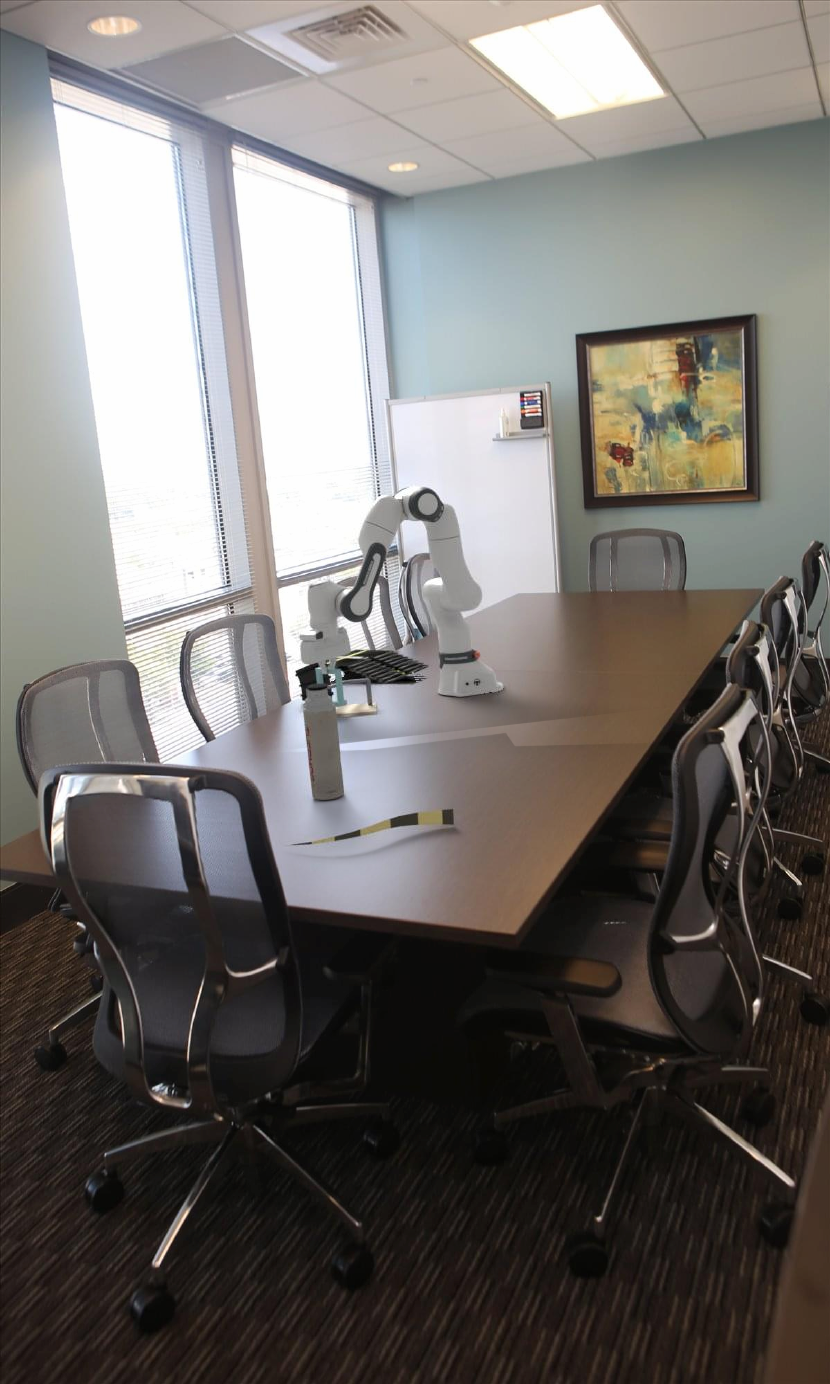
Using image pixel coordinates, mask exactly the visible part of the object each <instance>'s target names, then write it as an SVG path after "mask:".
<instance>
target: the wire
mask: <svg viewBox="0 0 830 1384" xmlns="http://www.w3.org/2000/svg"><path fill="white" fill-rule="evenodd" d="M371 681H372V680H371V679H370V678H358V679H357V678H356V679H348V680H346V679H345V680H342V684H343V686H344V685H349V684H350V685H351V684H359V683H365V687H366V689H365V690H366V700H367V703H368V705H369V706H370V705H373V703H372V702H373V695H372V682H371ZM327 689H336V682H335V683H332V684H331V685H328V686H327ZM306 694H307V698H308V689H306Z"/></svg>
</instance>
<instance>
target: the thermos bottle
mask: <svg viewBox="0 0 830 1384" xmlns="http://www.w3.org/2000/svg"><path fill="white" fill-rule="evenodd" d="M307 689H308V698H307V699H305V701H304V705H305V707H303V709H302V712H303V722H304V731H305V740H306V741H305V742H306V750H307V755H308V756H307V758H308V768H309V769H308V770H309V779H310V787H311V796H312V798H313V799H316V800H323V801H324V800H334V799H337V798H340V797H342V796H343V795H345V786H344V777H343V776H344V775H343V767H342V761H341V760H342V759H341V747H340V737H339V727H338V718H337V715H336V706H335V705H333V704H332V703H333V701H332V699H333V696H332V697H331V696H329V695H328V691H327V684H313V685H309V686H308V687H307Z"/></svg>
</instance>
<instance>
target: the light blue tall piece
mask: <svg viewBox="0 0 830 1384" xmlns="http://www.w3.org/2000/svg"><path fill="white" fill-rule="evenodd" d="M315 669H316V679H317V684H323V674H322V669H321V668H315ZM328 669H329V670H328V671H329V673H327V674H329V675H334V677H335V678H334V679H335V683H336V687H335V689H336V698H332V701H333V703H332V704H333V705H335V706H336V707H341V706H344V705H348V701H347V699H345V698H344V697H345V696H344V685H343V684H342V681H343V675H342V671H341V669H331V668H328Z"/></svg>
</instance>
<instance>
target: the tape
mask: <svg viewBox="0 0 830 1384" xmlns="http://www.w3.org/2000/svg"><path fill="white" fill-rule="evenodd" d="M425 825H426V826H427V825H448V826H449V825H450V826H451V825H452V826H453V825H455V817H454V808H448V809H438V810H437V809H435V810H428V811H421V812H420V811H419V812H412V813H407V814H402V815H398V816H395V817H392V818H388V819H385V820H382V821H380V822H377V823H375V824H373V825H370V826H367V827H364V828H360V829H357V830H355V831H351V832H347V833H343V834H338V835H335V836H331V837H328V838H323V839H317V840H314V841H308V842H300V843H293V844H288V845H287V844H286V845H284V846H288V847H289V846H305V845H317V844H323V843H330V842H332V843H333V842H336V841H342V840H343V841H344V840H349V839H353V838H359V837H363V836H367V835H371V834H375V833H378V832H382V831H386V830H389V829H393V828H399V827H408V826H409V827H410V826H425Z"/></svg>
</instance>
